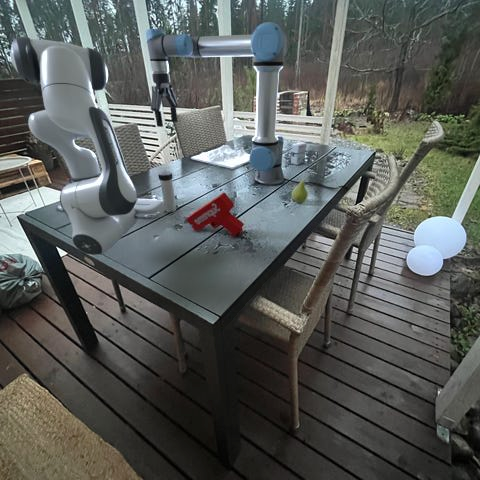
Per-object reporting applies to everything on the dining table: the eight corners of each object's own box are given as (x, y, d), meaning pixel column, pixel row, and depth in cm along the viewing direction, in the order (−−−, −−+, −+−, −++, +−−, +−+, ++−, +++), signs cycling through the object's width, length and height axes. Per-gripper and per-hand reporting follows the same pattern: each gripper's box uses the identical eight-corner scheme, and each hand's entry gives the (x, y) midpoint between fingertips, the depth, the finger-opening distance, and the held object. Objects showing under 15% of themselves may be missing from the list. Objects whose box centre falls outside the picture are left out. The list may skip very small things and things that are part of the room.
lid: (156, 179, 108) (155, 174, 106) (165, 175, 111) (164, 170, 110) (166, 181, 105) (165, 176, 104) (175, 177, 109) (174, 172, 108)
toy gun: (250, 225, 97) (225, 191, 93) (246, 231, 93) (220, 196, 89) (215, 244, 107) (191, 214, 103) (210, 250, 103) (185, 219, 99)
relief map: (233, 169, 161) (232, 160, 158) (191, 159, 178) (190, 151, 176) (258, 158, 179) (258, 150, 176) (218, 150, 197) (217, 142, 194)
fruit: (288, 200, 123) (290, 174, 116) (302, 197, 125) (305, 172, 119) (296, 206, 118) (299, 179, 111) (310, 203, 120) (314, 177, 114)
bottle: (163, 210, 115) (156, 174, 107) (170, 206, 119) (164, 171, 110) (171, 213, 113) (165, 176, 105) (178, 208, 117) (173, 173, 108)
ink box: (298, 160, 174) (300, 141, 168) (304, 162, 171) (307, 142, 165) (290, 163, 169) (292, 143, 163) (296, 165, 166) (299, 145, 160)
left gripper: (152, 208, 76) (170, 189, 87) (85, 204, 78) (111, 187, 90) (156, 227, 79) (173, 207, 90) (92, 223, 82) (116, 204, 93)
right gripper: (167, 72, 132) (173, 119, 143) (136, 73, 112) (146, 128, 123) (181, 72, 130) (186, 120, 141) (151, 73, 110) (160, 129, 121)
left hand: (142, 197), depth 90 cm, fingers open, 8 cm apart
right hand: (167, 124), depth 132 cm, fingers open, 13 cm apart
